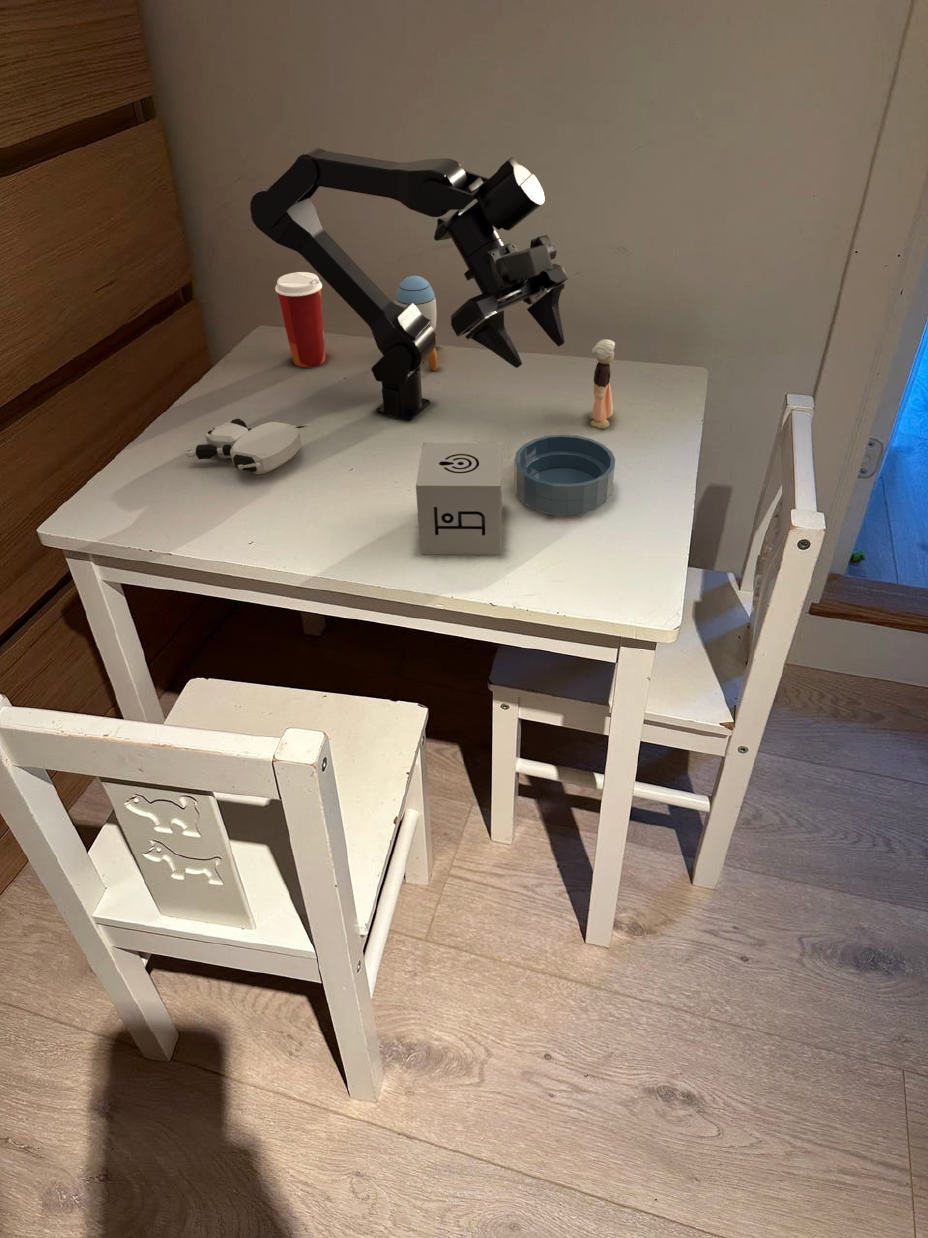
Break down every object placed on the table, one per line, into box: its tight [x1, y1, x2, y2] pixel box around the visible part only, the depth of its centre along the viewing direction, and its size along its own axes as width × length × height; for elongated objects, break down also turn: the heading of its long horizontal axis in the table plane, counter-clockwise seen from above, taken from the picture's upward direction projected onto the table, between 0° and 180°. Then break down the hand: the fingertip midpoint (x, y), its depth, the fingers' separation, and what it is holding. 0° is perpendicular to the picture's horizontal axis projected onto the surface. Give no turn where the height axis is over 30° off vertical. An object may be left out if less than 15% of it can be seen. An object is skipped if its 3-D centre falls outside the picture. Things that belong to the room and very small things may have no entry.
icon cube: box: [415, 442, 503, 556], centre depth 111 cm, size 10×10×10 cm
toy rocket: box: [394, 275, 438, 372], centre depth 149 cm, size 10×11×15 cm
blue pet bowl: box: [513, 434, 616, 516], centre depth 119 cm, size 13×13×5 cm
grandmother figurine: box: [589, 339, 616, 429], centre depth 132 cm, size 8×4×13 cm, turn 6°
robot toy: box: [185, 418, 311, 475], centre depth 128 cm, size 12×4×15 cm
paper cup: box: [274, 271, 326, 368], centre depth 150 cm, size 8×8×14 cm
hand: (540, 355), depth 121 cm, fingers open, 9 cm apart
